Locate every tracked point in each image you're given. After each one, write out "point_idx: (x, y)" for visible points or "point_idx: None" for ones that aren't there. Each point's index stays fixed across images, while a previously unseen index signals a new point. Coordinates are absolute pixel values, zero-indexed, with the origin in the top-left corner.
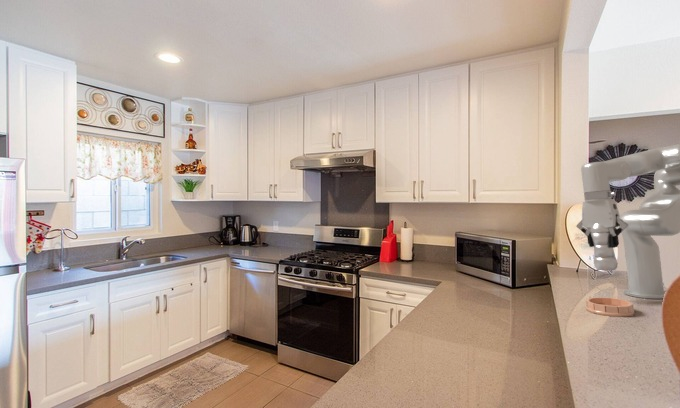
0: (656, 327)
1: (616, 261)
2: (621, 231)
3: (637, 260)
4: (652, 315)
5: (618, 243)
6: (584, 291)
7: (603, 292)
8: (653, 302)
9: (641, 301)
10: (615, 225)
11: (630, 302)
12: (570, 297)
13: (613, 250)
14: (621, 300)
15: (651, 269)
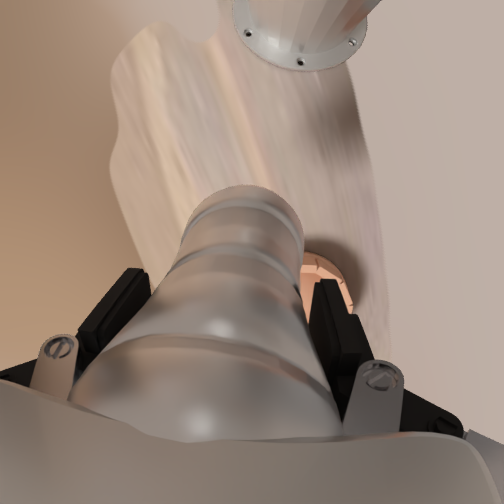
0: (391, 349)
1: (303, 247)
2: (432, 417)
3: (328, 4)
4: (380, 271)
5: (356, 322)
6: (130, 98)
7: (180, 65)
8: (352, 111)
9: (323, 119)
10: (400, 452)
11: (343, 287)
12: (144, 218)
13: (299, 280)
14: (316, 273)
15: (368, 12)
